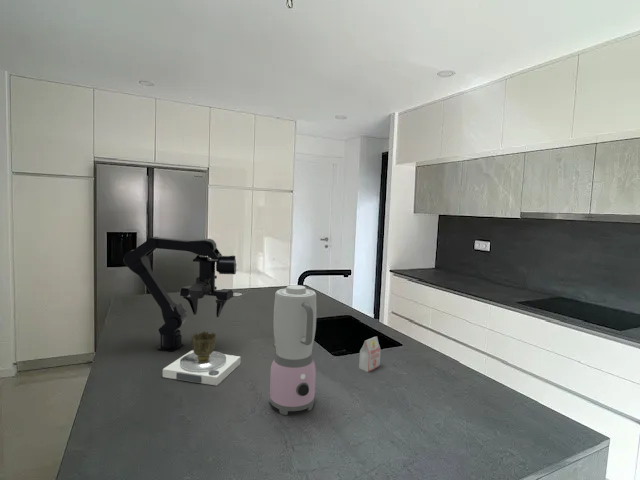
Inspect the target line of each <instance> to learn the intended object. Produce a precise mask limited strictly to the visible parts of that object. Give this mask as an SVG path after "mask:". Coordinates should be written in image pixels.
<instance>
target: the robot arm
mask: <svg viewBox="0 0 640 480" xmlns="http://www.w3.org/2000/svg"><path fill="white" fill-rule="evenodd" d="M156 249H157V250H158V249H159V250H170V251H180V252H189V253H192V254H195V255H196V256H195V258H193V259H192V262H198V276H196V279H195V282H194V283H193V284H192V285H187V286H186V285H185V286H183V287H182V288H180V289H179V297H182V298H183V299H185V300H186V301H188V303H189V307H190V309H191V311H192V314H193V316H195V315H197V312H198V303H199V299H203V298H204V297H205V296H209V297H211V296H212V297H215V298H216V299H215V300H214V301H215V303H216V318H219V317H220V315H221V313H222V312H223V308H224V307H225V304H226V302H227V301H229V300H230V299H232V298H234V291H233V290H232V289H227V288H222V289H219V290H217V286H215V285H216V279H217V275H216V272H217V273H218V274H219V275H236V273H237V260H236V255H223V254H222V253H221V252H220V251H219V249H218V247H217V242H216V241H215V240H214V239H212V238H201V239H193V240H192V239H181V238H180V239H179V238H168V237H167V238H166V237H158V236H152V237H149V238H148V239H146V241H144V242H143V243H141V244H139V246H136V248H134V249H132V250H129V251H127V252H126V253H124V255H123V264H125V266H127V268H129V271H131V272H132V273H134V274H136V275H137V276H138V277H139V278H140V280H141V281H142V283H143V285H144V286H145V287H146V288H147V290H148V292H149V293H150V295H151V297H152V298H153V299H154V300H155V302H156V303H157V305H158V307H159V308H160V311H161V316H162V320H163V322H164V323H163V324H162V325H161V326H160V327H159V328H158V333H159V337H160V341H159V342H160V344H159V345H160V346H158V347H157V350H161V351H167V352H168V351H169V352H175V351H176V350H178V349H179V348H181V347H183V346H184V343H183V342H182V334H181V332H182V331H181V330H179V328H181V326H182V325H184V323H185V322H186V320H187V316H188V315H187V310H186V309H185V308H184V306H183V305H182V304H183V303H181V302H179V303H178V304H177V303H175V302H174V301H173V300H172V299H171V297H170V295H169V294H168V293H167V290H166V289H165V287H164V286H163V285H162V283H161V282H160V280H159V279H158V277H157V275H156V274H155V272H153V270H152V267H151V266H152V265H151V262H150V258H149V256H150V255H152V253H153V252H154V251H155V250H156Z"/></svg>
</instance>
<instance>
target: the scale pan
mask: <svg viewBox="0 0 640 480" xmlns="http://www.w3.org/2000/svg"><path fill="white" fill-rule="evenodd" d="M224 354H225V353H223V352H220V351H215V350H213V352H212V353H211V354H210V355H209V356H210V357H209V359H208V360H206V361H200V360H198V358H197V357H198V356H197V355H196V354H195V353H191V354H188V355H186V356H184V355H183V356H184V357H183V358H182V359H181V360H180V367H181V368H182V369H184V370H186V371H190V372H207V371H212V370H216V369H218V368H220V367H222V366H223V365H224V364H225V363H226V356H225V355H226V354H225V355H224Z"/></svg>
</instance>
